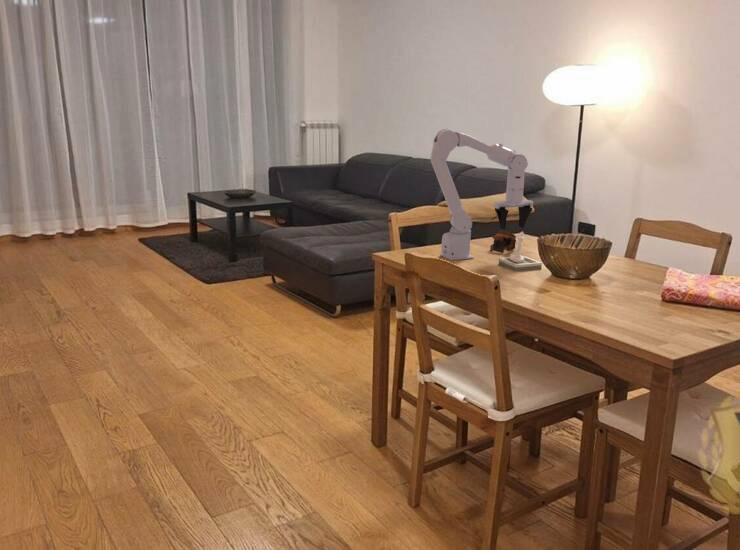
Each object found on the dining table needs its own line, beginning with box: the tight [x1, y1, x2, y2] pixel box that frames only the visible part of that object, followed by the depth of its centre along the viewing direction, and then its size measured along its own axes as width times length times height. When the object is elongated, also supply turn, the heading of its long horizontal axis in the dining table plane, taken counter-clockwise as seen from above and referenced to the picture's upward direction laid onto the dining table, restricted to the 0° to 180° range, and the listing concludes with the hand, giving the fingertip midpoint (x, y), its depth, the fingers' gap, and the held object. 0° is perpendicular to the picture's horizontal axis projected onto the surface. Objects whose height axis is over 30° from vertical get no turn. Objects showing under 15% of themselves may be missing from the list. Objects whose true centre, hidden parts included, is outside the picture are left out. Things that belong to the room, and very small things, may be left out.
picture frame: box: [498, 255, 543, 272], centre depth 218 cm, size 10×10×2 cm
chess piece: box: [509, 231, 526, 263], centre depth 217 cm, size 5×5×10 cm
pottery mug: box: [489, 230, 517, 254], centre depth 239 cm, size 12×10×8 cm
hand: (512, 228), depth 227 cm, fingers open, 7 cm apart
